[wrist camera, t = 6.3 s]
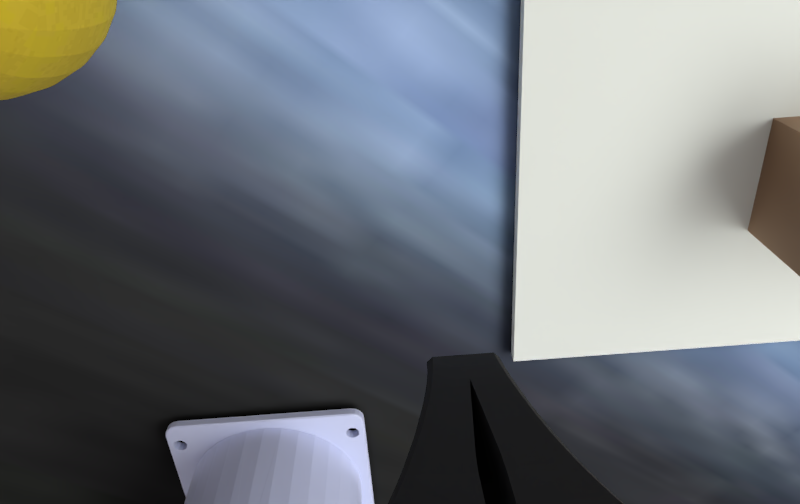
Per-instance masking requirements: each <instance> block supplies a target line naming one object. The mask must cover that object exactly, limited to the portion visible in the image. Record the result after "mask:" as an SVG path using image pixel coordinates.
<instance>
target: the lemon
mask: <svg viewBox="0 0 800 504" xmlns="http://www.w3.org/2000/svg"><path fill="white" fill-rule="evenodd" d="M116 5H117V0H0V100H5V99H12V98H15V97H19V96H22V95H26V94H29V93H32V92H36V91H39V90H42V89H46V88H48V87H51V86H53V85H55V84H57V83H58V82H60V81H61V80H63V79H64V78H66V77H67V76H69V75H70V74H72V73H73V72H75V71H76V70H78V69H79V68H81V67H82V66H83V65H84V64H85V63H86V62H87V61H88V60H89V59H90V58H91V56H92V55H93V54H94V52H95V51H96V50H97V49H98V47H99V46H100V45H101V43H102V42H103V41H104V39H105V38H106V35H107V33H108V30H109V28H110V25H111V22H112V20H113V17H114V14H115V11H116Z"/></svg>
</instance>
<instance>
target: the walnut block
mask: <svg viewBox="0 0 800 504" xmlns="http://www.w3.org/2000/svg"><path fill="white" fill-rule="evenodd" d="M748 231H749V232H750V233H751V234H752V235H753V236H754V237H755V238H757V239H758V240H759V241H760V242H761V243H762V244H763V245H764V246H766V247H767V248H768V249H769V250H770V251H771V252H772V253H774V254H775V255H776V256H777V257H778V258H779V259H780V260H782V261H783V262H784V263H785V264H786V265H787V266H788V267H790V268H791V269H792V270H793V271H794V272H795V273H796V274H798V275H799V276H800V116H795V117H782V118H773V121H772V125H771V130H770V134H769V139H768V143H767V147H766V152H765V156H764V161H763V165H762V169H761V174H760V178H759V183H758V187H757V191H756V196H755V200H754V204H753V209H752V213H751V218H750V222H749V226H748Z"/></svg>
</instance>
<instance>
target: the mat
mask: <svg viewBox="0 0 800 504" xmlns="http://www.w3.org/2000/svg"><path fill="white" fill-rule="evenodd" d="M795 116H800V0H521V12H520V48H519V84H518V121H517V157H516V193H515V229H514V265H513V301H512V338H511V355H512V358H513V361H525V360H539V359H552V358H566V357H580V356H593V355H607V354H621V353H634V352H648V351H661V350H675V349H689V348H702V347H716V346H730V345H743V344H757V343H771V342H784V341H798V340H800V276H799V275H798V274H796V273H795V272H794V271H793V270H792V269H791V268H790V267H788V266H787V265H786V264H785V263H784V262H783V261H782V260H780V259H779V258H778V257H777V256H776V255H775V254H774V253H772V252H771V251H770V250H769V249H768V248H767V247H766V246H764V245H763V244H762V243H761V242H760V241H759V240H758V239H757V238H755V237H754V236H753V235H752V234H751V233H750V232H749V231H748V226H749V222H750V218H751V213H752V209H753V204H754V200H755V196H756V191H757V187H758V183H759V178H760V174H761V169H762V165H763V161H764V156H765V152H766V147H767V143H768V139H769V134H770V130H771V125H772V121H773V118H782V117H795Z"/></svg>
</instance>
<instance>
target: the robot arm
mask: <svg viewBox="0 0 800 504" xmlns="http://www.w3.org/2000/svg"><path fill="white" fill-rule="evenodd" d="M427 369H428V375H427V386H426V392H425V397H424V402H423V407H422V411H421V415H420V418H419V422H418V426H417V430H416V433H415V436H414V440H413V442H412V445H411V448H410V451H409V454H408V457H407V459H406V462H405V465H404V468H403V470H402V473H401V475H400V478H399V480H398V483H397V485H396V487H395V490H394V492H393V494H392V496H391V499H390V501H389V503H388V504H624V503H623V502H622V501H620V500H619V499H618V498H617V497H616V496H615V495H614V494H613V493H612V492H610V491H609V490H608V489H607V488H606V487H605V486H604V485H603V484H602V483H601V482H600V481H599V480H598V479H597V478H596V477H595V476H594V475H593V474H592V473H591V472H590V471H589V470H588V469H587V468H586V467H585V466H584V465H583V464H582V463H581V462H580V461H579V460H578V459H577V458H576V457H575V456H574V455H573V454H572V453H571V451H570V450H569V449H568V448H567V447H566V446H565V445H564V444H563V443H562V442H561V441H560V439H559V438H558V437H557V436H556V435H555V434H554V432H553V431H552V430H551V429H550V428H549V426H548V425H547V424H546V423H545V421H544V420H543V419H542V418H541V417H540V415H539V414H538V413H537V412H536V410H535V409H534V408H533V407H532V405H531V404H530V403H529V401H528V400H527V399H526V397H525V396H524V395H523V393H522V392H521V390H520V389H519V388H518V386H517V385H516V383H515V382H514V380H513V379H512V377H511V376H510V374H509V373H508V371H507V370H506V368H505V367H504V365H503V363H502V362H501V360H500V358H499V357H498V356H497V355H496V354H495V353H482V354H469V355H455V356H441V357H432V358H431V359H430V360H429V361H428V362H427ZM350 428H356V429H357V430H354V431H353V430H349V429H350ZM165 434H166V439H167V442H168V445H169V448H170V451H171V454H172V457H173V460H174V463H175V466H176V469H177V472H178V475H179V478H180V481H181V484H182V487H183V491H184V494H185V497H186V499H185V502H184V504H374V496H373V488H372V479H371V471H370V463H369V455H368V446H367V438H366V430H365V422H364V416H363V413H362V412H361V411H360V410H357V409H353V408H348V409H334V410H321V411H307V412H294V413H280V414H266V415H253V416H239V417H225V418H212V419H198V420H184V421H175V422H172V423H171V424H169V426H168V428H167V430H166V433H165ZM179 441H183V442H185V443H181V442H179Z"/></svg>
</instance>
